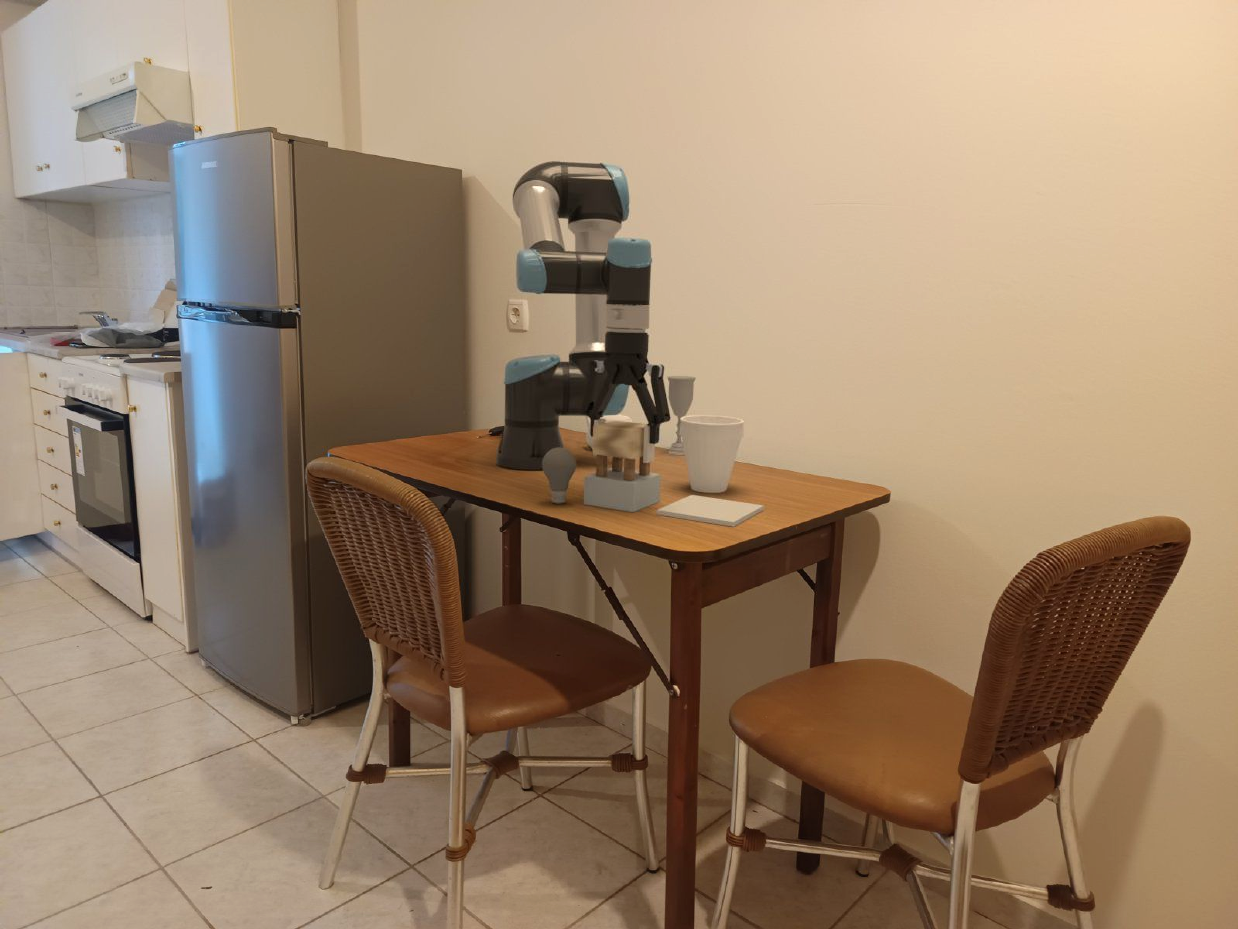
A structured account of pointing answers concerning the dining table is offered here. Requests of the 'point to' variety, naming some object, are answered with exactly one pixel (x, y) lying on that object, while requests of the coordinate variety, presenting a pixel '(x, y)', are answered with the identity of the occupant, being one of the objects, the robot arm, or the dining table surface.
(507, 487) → the dining table surface
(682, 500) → the mat
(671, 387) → the chalice
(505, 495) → the dining table surface
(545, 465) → the light bulb
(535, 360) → the robot arm
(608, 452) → the stool
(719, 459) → the cup
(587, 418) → the teapot
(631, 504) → the gray square block
